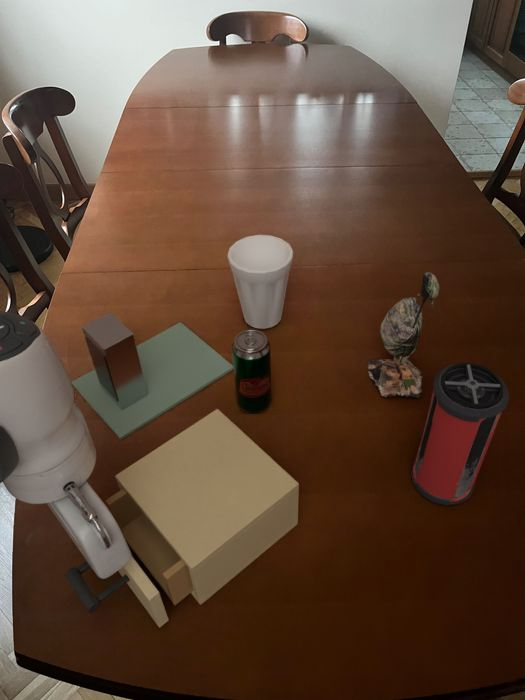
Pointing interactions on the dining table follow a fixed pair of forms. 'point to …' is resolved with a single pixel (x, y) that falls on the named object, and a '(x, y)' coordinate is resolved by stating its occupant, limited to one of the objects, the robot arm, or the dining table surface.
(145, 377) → the mat
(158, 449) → the cabinet
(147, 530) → the drawer
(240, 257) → the cup
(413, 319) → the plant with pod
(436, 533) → the dining table surface
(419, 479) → the speaker
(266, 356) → the soda can
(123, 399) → the brushed metal box
